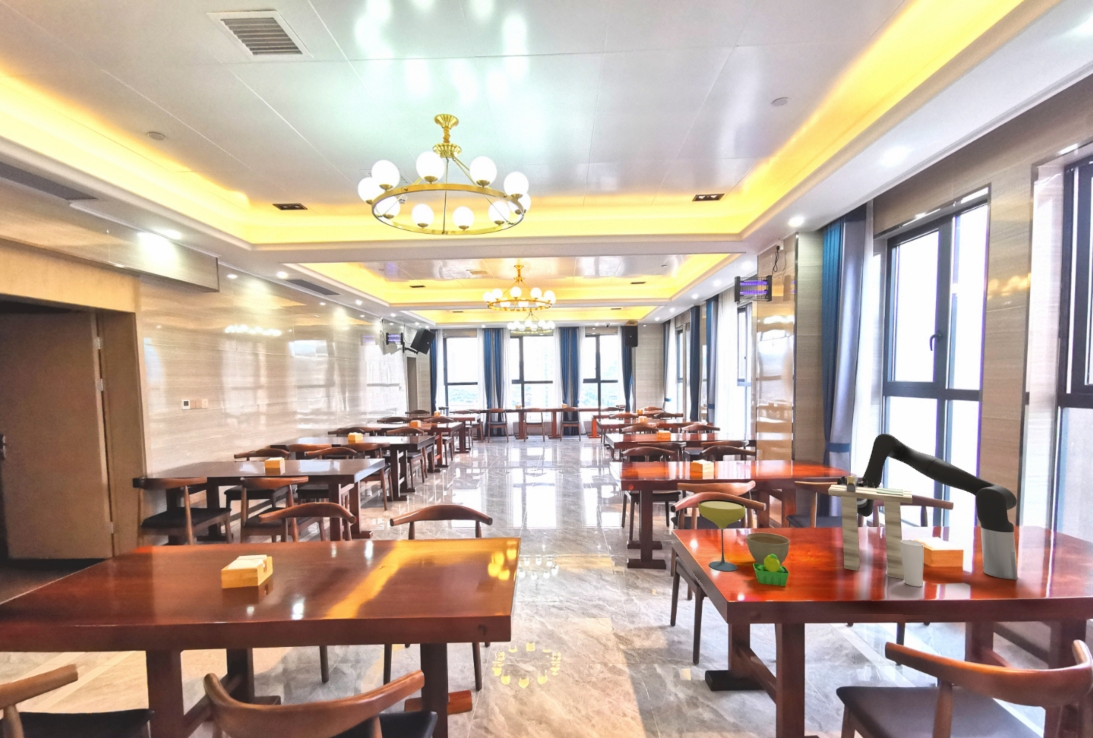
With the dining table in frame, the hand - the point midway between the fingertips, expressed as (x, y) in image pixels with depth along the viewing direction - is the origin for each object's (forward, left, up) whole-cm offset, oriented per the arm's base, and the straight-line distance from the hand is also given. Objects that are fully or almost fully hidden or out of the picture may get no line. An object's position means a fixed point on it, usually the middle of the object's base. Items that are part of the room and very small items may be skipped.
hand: (853, 478), depth 193 cm
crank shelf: (-7, +10, -34) cm, 37 cm away
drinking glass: (-20, +11, -35) cm, 41 cm away
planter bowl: (+25, +28, -35) cm, 51 cm away
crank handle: (-1, +6, -2) cm, 7 cm away
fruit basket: (+17, +46, -35) cm, 60 cm away
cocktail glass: (+37, +43, -35) cm, 66 cm away
